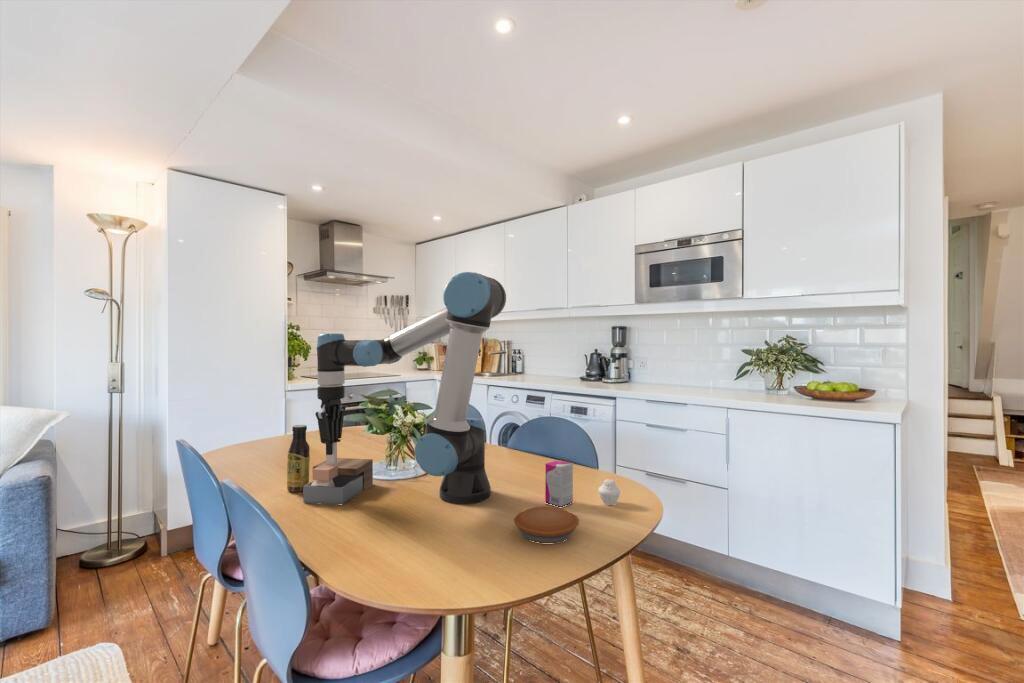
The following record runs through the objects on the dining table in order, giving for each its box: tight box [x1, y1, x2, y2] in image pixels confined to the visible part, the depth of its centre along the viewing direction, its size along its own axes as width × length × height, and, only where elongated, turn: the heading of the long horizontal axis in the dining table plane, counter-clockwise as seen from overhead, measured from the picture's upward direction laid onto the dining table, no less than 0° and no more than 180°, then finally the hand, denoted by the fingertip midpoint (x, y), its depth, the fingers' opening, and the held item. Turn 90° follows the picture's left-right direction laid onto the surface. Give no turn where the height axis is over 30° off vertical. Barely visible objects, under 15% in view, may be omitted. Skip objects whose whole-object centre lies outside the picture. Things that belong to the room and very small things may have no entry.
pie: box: [513, 505, 580, 544], centre depth 112 cm, size 15×16×5 cm
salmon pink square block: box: [312, 464, 338, 481], centre depth 137 cm, size 5×5×3 cm
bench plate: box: [312, 457, 374, 491], centre depth 146 cm, size 14×11×8 cm
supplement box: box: [544, 459, 574, 508], centre depth 133 cm, size 6×6×12 cm
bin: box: [302, 475, 364, 506], centre depth 139 cm, size 12×12×5 cm
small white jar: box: [597, 478, 621, 506], centre depth 133 cm, size 6×6×7 cm
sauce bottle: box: [286, 424, 311, 493], centre depth 146 cm, size 6×6×20 cm
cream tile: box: [311, 479, 335, 487], centre depth 136 cm, size 5×5×3 cm
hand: (331, 464), depth 140 cm, fingers closed
